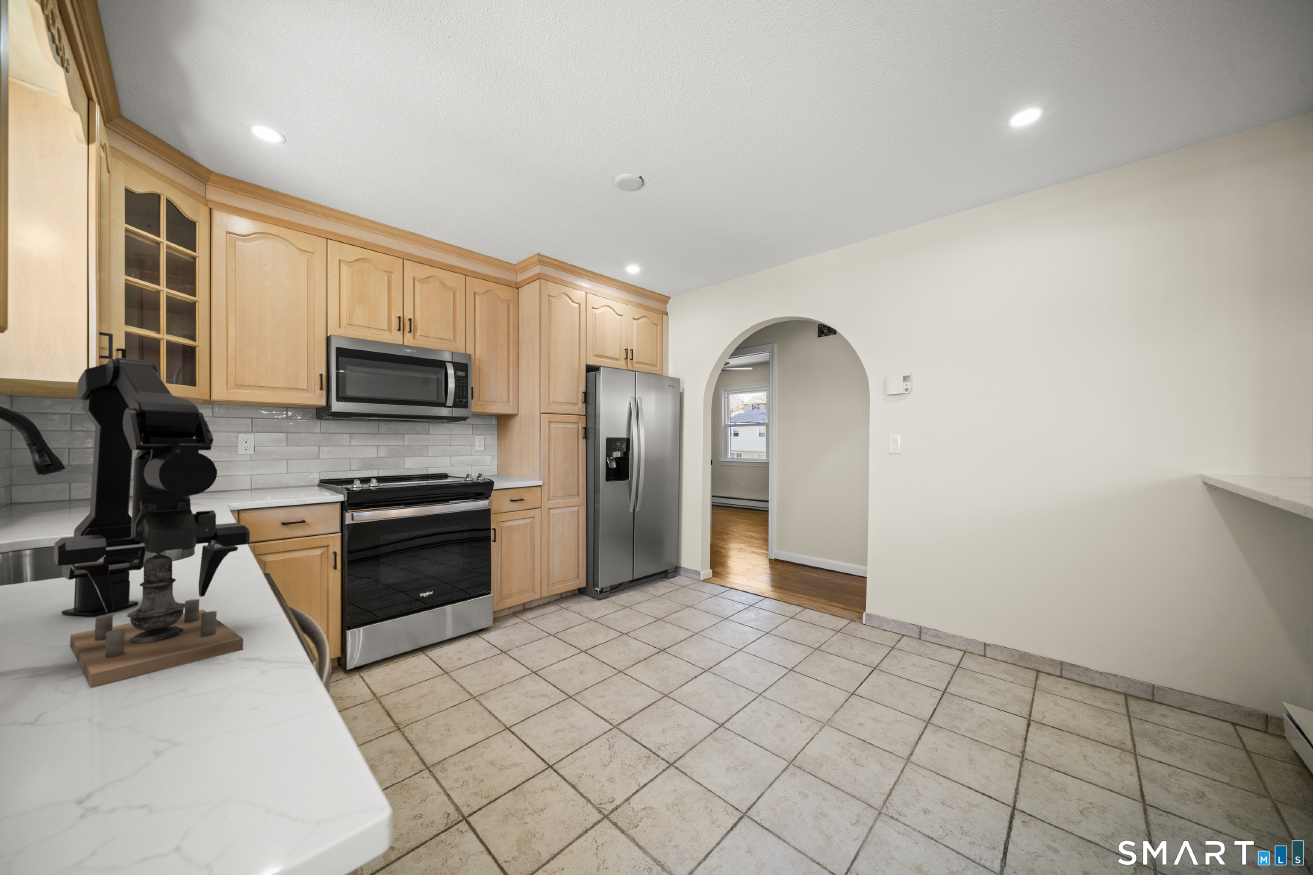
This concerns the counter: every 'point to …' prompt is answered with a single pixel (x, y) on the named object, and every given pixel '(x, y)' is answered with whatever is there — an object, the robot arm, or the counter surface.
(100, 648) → the peg board
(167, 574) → the dark grey turned piece
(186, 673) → the counter surface
